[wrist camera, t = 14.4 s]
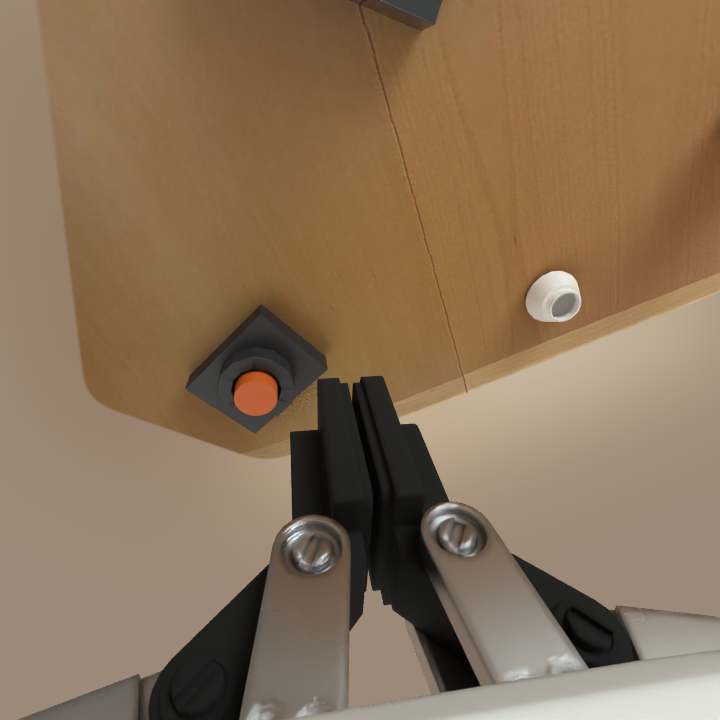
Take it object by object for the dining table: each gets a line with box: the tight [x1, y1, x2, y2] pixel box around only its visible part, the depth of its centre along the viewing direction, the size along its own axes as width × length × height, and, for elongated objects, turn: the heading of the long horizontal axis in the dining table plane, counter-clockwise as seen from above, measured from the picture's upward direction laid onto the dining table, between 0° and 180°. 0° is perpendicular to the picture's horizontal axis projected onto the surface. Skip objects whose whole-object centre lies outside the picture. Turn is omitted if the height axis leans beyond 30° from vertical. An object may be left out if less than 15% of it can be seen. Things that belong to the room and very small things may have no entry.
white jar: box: [526, 271, 581, 322], centre depth 41 cm, size 5×3×5 cm
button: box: [234, 371, 278, 416], centre depth 37 cm, size 4×4×2 cm
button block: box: [185, 304, 327, 433], centre depth 39 cm, size 8×10×4 cm
